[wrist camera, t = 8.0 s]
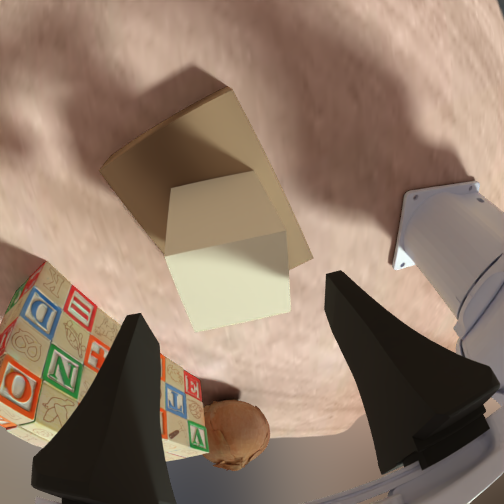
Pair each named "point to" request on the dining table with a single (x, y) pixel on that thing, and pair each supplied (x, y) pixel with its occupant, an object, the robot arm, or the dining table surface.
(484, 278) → the robot arm
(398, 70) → the dining table surface
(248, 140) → the tan block
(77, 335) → the stack of blocks
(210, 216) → the cream block
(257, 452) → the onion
